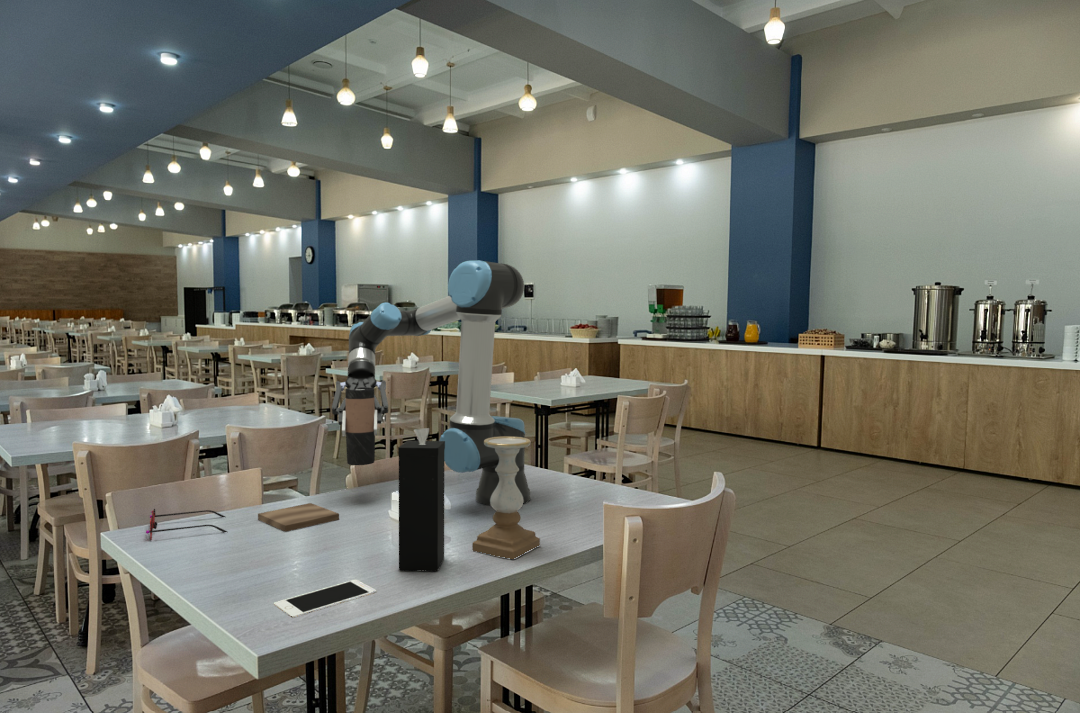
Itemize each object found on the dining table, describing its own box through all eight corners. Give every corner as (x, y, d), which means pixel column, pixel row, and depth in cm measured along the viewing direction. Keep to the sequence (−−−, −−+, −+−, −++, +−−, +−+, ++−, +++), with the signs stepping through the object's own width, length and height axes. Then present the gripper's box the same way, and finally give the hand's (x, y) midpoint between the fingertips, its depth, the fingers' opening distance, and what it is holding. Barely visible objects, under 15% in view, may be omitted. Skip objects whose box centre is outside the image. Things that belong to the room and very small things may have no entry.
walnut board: (339, 519, 170) (339, 513, 170) (285, 531, 160) (285, 525, 160) (310, 508, 180) (310, 502, 180) (258, 519, 170) (258, 513, 170)
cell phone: (272, 606, 120) (272, 602, 120) (355, 582, 131) (355, 578, 131) (292, 620, 114) (292, 616, 114) (377, 594, 126) (377, 590, 126)
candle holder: (513, 560, 142) (514, 446, 141) (471, 550, 148) (471, 441, 147) (541, 546, 152) (542, 438, 151) (500, 537, 158) (501, 434, 156)
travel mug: (371, 465, 181) (370, 389, 180) (342, 465, 181) (341, 389, 180) (378, 459, 188) (377, 387, 188) (351, 459, 189) (349, 387, 188)
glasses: (149, 526, 165) (149, 506, 164) (225, 518, 172) (225, 498, 172) (145, 544, 152) (145, 521, 152) (227, 534, 159) (227, 513, 159)
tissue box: (407, 557, 144) (407, 424, 142) (444, 558, 143) (445, 425, 142) (398, 571, 136) (398, 430, 134) (437, 572, 135) (438, 431, 134)
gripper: (397, 375, 201) (399, 439, 186) (325, 377, 197) (320, 442, 182) (397, 358, 195) (399, 423, 180) (323, 359, 191) (318, 425, 176)
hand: (359, 432), depth 181 cm, fingers closed on travel mug, 7 cm apart
